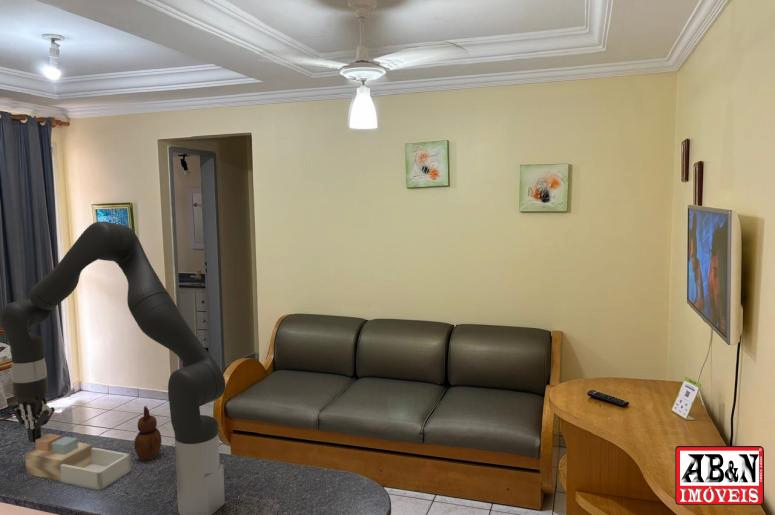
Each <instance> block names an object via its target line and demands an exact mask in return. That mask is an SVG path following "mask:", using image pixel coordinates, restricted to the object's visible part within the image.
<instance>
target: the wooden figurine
mask: <svg viewBox="0 0 775 515" xmlns="http://www.w3.org/2000/svg"><path fill="white" fill-rule="evenodd" d="M157 422H158V421H157V418H156V416H154V415H151V414H150V409H149V408H148V407H147V405H145V406H143V416H142V417H140V418H139V419H138V421H137V430H138V433H137V434H136V436H135V438H134V450H135V453H136V455H137V456H138V458H139V459H140V460H142V461H149V460H150V461H151V460H152V459H155V458H156V457H157V456H158V455H159V453H160V450H161V448H162V434H161V432H160V430H159V429H158V428H157V425H158V423H157Z"/></svg>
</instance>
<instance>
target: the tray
mask: <svg viewBox="0 0 775 515" xmlns="http://www.w3.org/2000/svg"><path fill="white" fill-rule="evenodd" d="M91 459H92V463H91V464H90V465H88V466H86V467H84V468H82V467H77V466H72V465H66V464H62V465H60V469H61V481H60V482H61V483H62V484H66V485H71V486H76V487H80V488H85V489H89V490H93V491H98V492H101V491H103V490H104V489H106V488H107V487H108V486H110V485H112V484H113V483H115V482H116V481H117V480H120V479H121V478H122V476H123V477H124V476H125V475H128V474H129V473H130V472H132V458H131V454H130V453H125V452H120V451H115V450H110V449H105V448H98V447H92V448H91Z"/></svg>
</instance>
